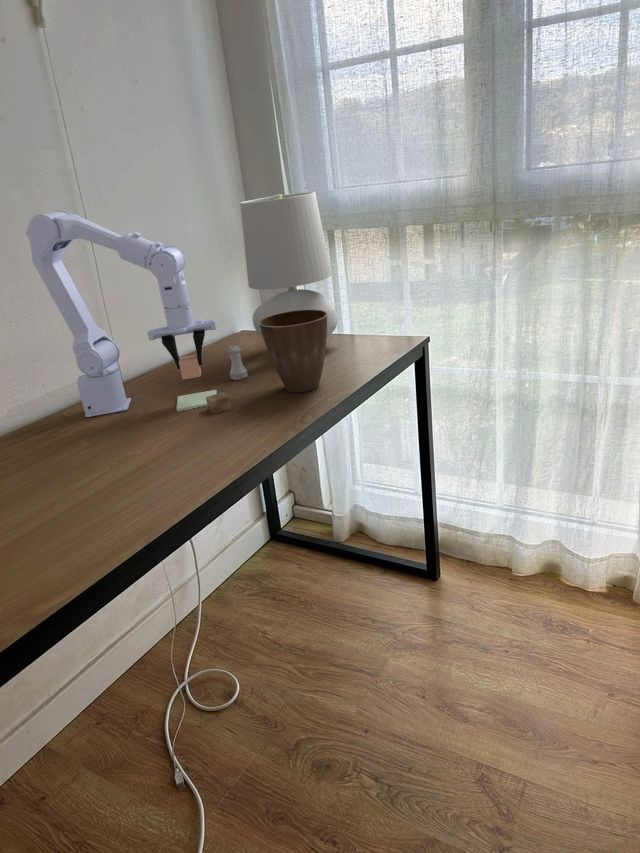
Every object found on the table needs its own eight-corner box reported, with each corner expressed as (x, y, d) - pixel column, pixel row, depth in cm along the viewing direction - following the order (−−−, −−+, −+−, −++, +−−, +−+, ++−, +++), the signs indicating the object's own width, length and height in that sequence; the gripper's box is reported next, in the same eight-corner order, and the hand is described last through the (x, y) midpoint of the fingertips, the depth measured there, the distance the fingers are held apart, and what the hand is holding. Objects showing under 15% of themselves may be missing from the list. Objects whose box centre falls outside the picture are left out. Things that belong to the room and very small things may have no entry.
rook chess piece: (251, 374, 165) (246, 343, 162) (242, 380, 161) (236, 348, 159) (236, 374, 167) (230, 343, 164) (226, 380, 163) (220, 349, 160)
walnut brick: (214, 414, 142) (211, 401, 141) (208, 410, 145) (205, 397, 144) (231, 409, 143) (229, 396, 142) (225, 405, 147) (223, 392, 146)
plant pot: (296, 374, 160) (286, 308, 155) (348, 378, 152) (340, 309, 146) (257, 395, 149) (244, 325, 143) (311, 401, 141) (300, 327, 135)
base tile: (177, 413, 147) (176, 408, 147) (179, 401, 155) (177, 396, 155) (218, 406, 148) (217, 401, 147) (217, 394, 156) (216, 389, 156)
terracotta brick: (182, 379, 147) (178, 362, 145) (183, 374, 150) (179, 357, 149) (200, 376, 147) (197, 359, 146) (201, 371, 151) (197, 354, 149)
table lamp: (244, 365, 174) (214, 205, 159) (273, 342, 193) (249, 196, 178) (328, 361, 167) (305, 193, 152) (350, 337, 185) (331, 185, 171)
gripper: (141, 314, 139) (155, 376, 144) (210, 303, 140) (222, 365, 145) (144, 308, 145) (158, 367, 150) (210, 297, 147) (222, 357, 152)
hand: (190, 366), depth 148 cm, fingers closed on terracotta brick, 4 cm apart
